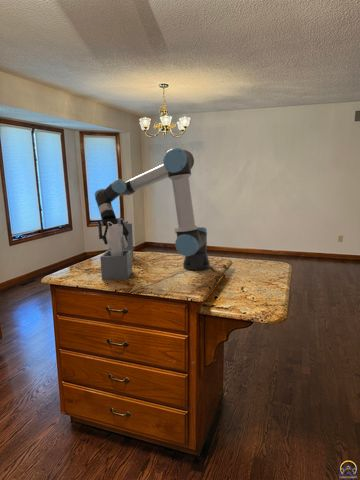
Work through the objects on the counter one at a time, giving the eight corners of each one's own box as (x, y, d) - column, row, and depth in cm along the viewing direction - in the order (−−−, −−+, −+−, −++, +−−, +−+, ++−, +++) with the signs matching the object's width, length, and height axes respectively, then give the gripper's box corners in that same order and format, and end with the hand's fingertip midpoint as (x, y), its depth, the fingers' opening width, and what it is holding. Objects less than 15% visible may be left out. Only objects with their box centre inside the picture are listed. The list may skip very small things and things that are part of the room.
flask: (135, 257, 208) (133, 218, 203) (131, 258, 204) (129, 219, 199) (113, 254, 215) (111, 217, 211) (109, 256, 211) (106, 218, 207)
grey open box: (132, 271, 176) (131, 250, 173) (128, 279, 163) (126, 256, 160) (108, 271, 176) (106, 250, 174) (101, 279, 163) (100, 256, 161)
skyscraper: (107, 276, 166) (104, 222, 160) (111, 271, 174) (108, 220, 168) (124, 276, 165) (121, 222, 160) (127, 271, 173) (124, 220, 168)
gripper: (124, 216, 182) (135, 249, 171) (87, 219, 172) (96, 254, 161) (127, 207, 176) (139, 241, 166) (88, 210, 167) (98, 245, 156)
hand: (118, 247), depth 164 cm, fingers open, 8 cm apart
